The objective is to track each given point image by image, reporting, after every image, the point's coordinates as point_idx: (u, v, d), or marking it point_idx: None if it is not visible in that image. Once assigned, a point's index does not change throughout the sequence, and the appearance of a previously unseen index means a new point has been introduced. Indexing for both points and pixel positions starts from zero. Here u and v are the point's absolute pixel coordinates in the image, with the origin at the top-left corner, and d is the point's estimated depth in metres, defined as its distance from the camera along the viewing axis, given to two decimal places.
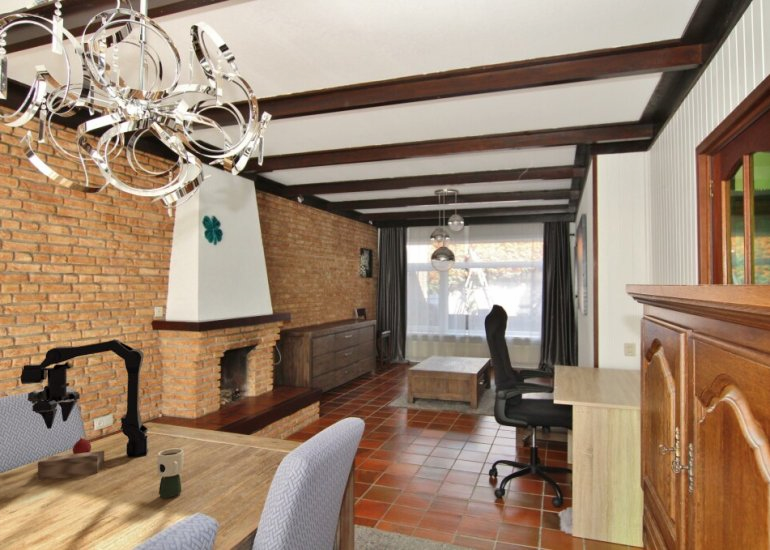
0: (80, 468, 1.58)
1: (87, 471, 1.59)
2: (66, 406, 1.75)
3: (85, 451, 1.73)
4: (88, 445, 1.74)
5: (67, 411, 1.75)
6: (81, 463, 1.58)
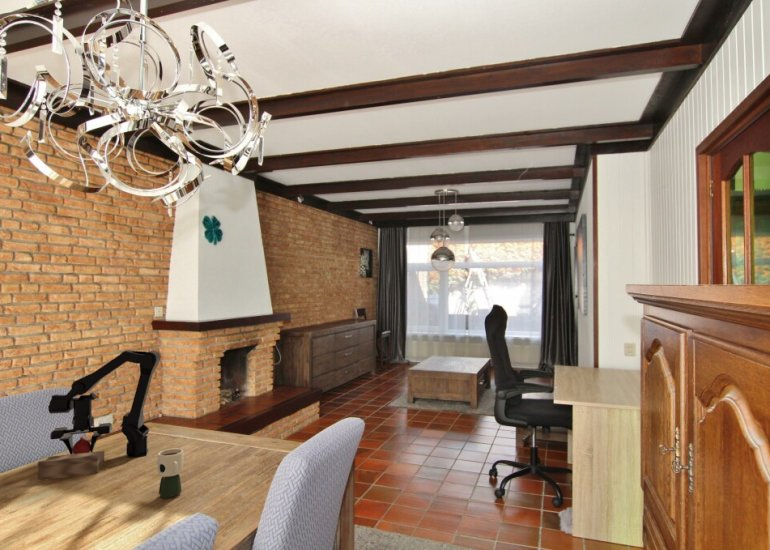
0: (80, 468, 1.58)
1: (87, 471, 1.59)
2: None
3: (85, 451, 1.73)
4: (88, 445, 1.74)
5: None
6: (81, 463, 1.58)
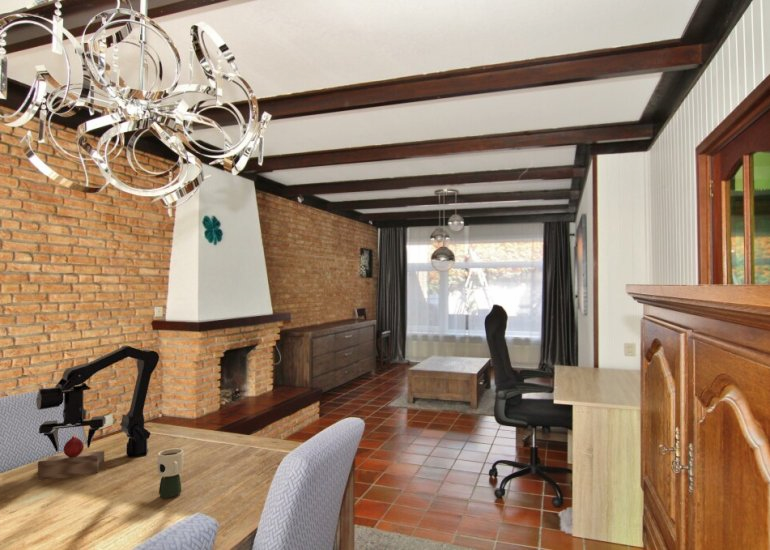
0: (80, 468, 1.58)
1: (87, 471, 1.59)
2: None
3: (77, 450, 1.61)
4: (80, 444, 1.63)
5: None
6: (81, 463, 1.58)
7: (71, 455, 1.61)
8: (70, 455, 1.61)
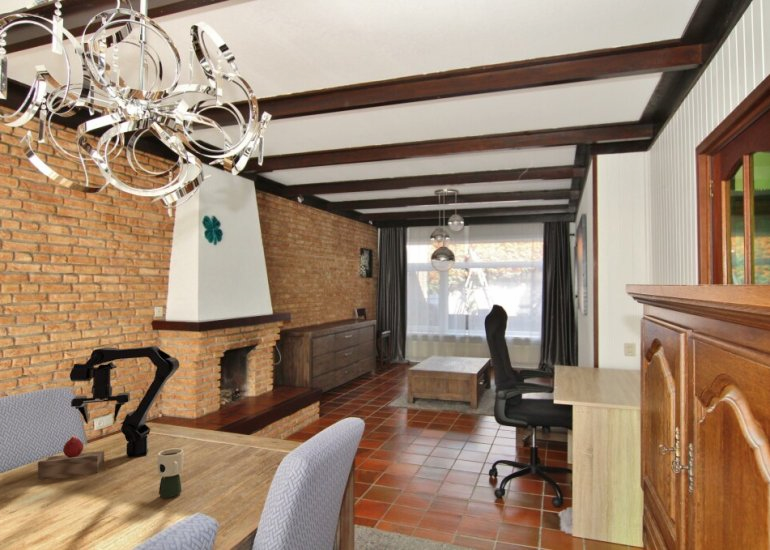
0: (80, 468, 1.58)
1: (87, 471, 1.59)
2: None
3: (77, 451, 1.61)
4: (80, 444, 1.62)
5: (115, 412, 1.79)
6: (81, 463, 1.58)
7: (71, 455, 1.61)
8: (70, 455, 1.60)
